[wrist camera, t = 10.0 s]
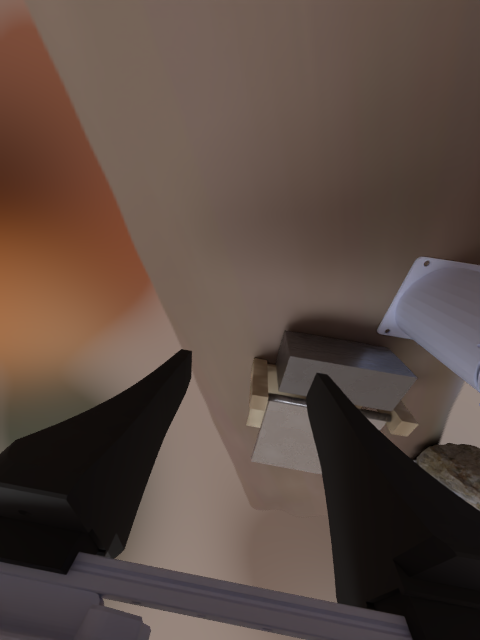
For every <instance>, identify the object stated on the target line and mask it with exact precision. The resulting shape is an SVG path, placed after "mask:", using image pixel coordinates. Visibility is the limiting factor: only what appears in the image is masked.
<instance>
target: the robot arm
mask: <svg viewBox="0 0 480 640" xmlns="http://www.w3.org/2000/svg"><path fill="white" fill-rule="evenodd" d="M428 260H429V264H428V265H427V266H424V263H425V262H426V261H428ZM387 329H390V330H389V332H387V333H385V330H387ZM377 332H378V333H379V334H382V335H388V336H394V337H400V338H406V339H412V340H414V341H415V342H417V343H418V344H419V345H420V346H422V347H423V348H424V349H425V350H427V351H428V352H429V353H431V354H432V355H433V356H434V357H436V358H437V359H438V360H439V361H441V362H442V363H443V364H444V365H446V366H447V367H448V368H449V369H451V370H452V371H453V372H454V373H456V374H457V375H458V376H459V377H461V378H462V379H463V380H464V381H466V382H467V383H468V384H470V385H471V386H472V387H473V388H474V389H476V390H477V391H478V392H479V393H480V265H475V264H468V263H462V262H456V261H449V260H443V259H436V258H430V257H424V256H423V257H419V258H417V259H416V260H415V261H414V263H413V265H412V267H411V269H410V270H409V272H408V274H407V276H406V278H405V280H404V281H403V283H402V285H401V287H400V289H399V290H398V292H397V294H396V296H395V298H394V299H393V301H392V303H391V305H390V307H389V309H388V310H387V312H386V314H385V316H384V318H383V319H382V321H381V323H380V325H379V327H378V328H377ZM191 365H192V351H188V350H183V349H181V350H180V351H179V352H177V353H176V354H175V355H174V356H172V357H171V358H170V359H169V360H167V361H166V362H165V363H164V364H162V365H161V366H160V367H158V368H157V369H156V370H155V371H153V372H152V373H150V374H149V375H148V376H146V377H145V378H143V379H142V380H140V381H139V382H138V383H136V384H135V385H133V386H131V387H130V388H128V389H127V390H125V391H123V392H122V393H120V394H118V395H116V396H115V397H113V398H111V399H109V400H107V401H105V402H103V403H101V404H99V405H97V406H96V407H94V408H92V409H90V410H88V411H85V412H83V413H81V414H79V415H77V416H74V417H72V418H70V419H68V420H66V421H63V422H61V423H58V424H56V425H54V426H51V427H48V428H46V429H43V430H41V431H38V432H36V433H33V434H30V435H28V436H25V437H23V438H20V439H17V440H15V441H14V442H13V443H12V444H11V445H10V446H9V447H7V448H6V449H5V450H4V451H3V452H2V453H1V454H0V640H148V639H149V635H150V632H151V629H150V626H148V625H146V624H144V623H143V621H142V617H140V616H137V615H133V614H130V613H126V612H123V611H120V610H116V609H113V608H109V607H105V606H104V601H103V599H102V598H104V599H109V600H114V601H120V602H124V603H129V604H134V605H139V606H144V607H149V608H154V609H159V610H163V611H168V612H174V613H178V614H183V615H188V616H193V617H198V618H203V619H208V620H213V621H218V622H223V623H228V624H233V625H237V626H243V627H247V628H252V629H257V630H262V631H267V632H272V633H277V634H282V635H287V636H291V637H297V638H301V639H306V640H480V511H479V510H478V509H476V508H475V507H473V506H472V505H470V504H469V503H468V502H466V501H465V500H463V499H462V498H461V497H459V496H458V495H457V494H455V493H454V492H453V491H451V490H450V489H449V488H447V487H446V486H445V485H443V484H442V483H441V482H439V481H438V480H437V479H435V478H434V477H433V476H431V475H430V474H429V473H428V472H426V471H425V470H424V469H423V468H421V467H420V466H419V465H418V464H417V463H415V462H414V461H413V460H412V459H411V458H409V457H408V456H407V455H406V454H405V453H403V452H402V451H401V450H400V449H399V448H398V447H397V446H395V445H394V444H393V443H392V442H391V441H390V440H389V439H388V438H387V437H386V436H384V435H383V434H382V433H381V432H380V431H379V430H378V429H377V428H376V427H375V426H374V425H373V424H372V423H371V422H370V421H369V420H368V419H367V418H366V417H365V416H364V415H363V414H362V413H361V411H360V410H359V409H358V408H357V407H356V406H355V405H354V404H353V403H352V402H351V401H350V399H349V398H348V397H347V396H346V395H345V394H344V393H343V391H342V390H341V389H340V388H339V387H338V386H337V385H336V383H335V382H334V381H333V380H332V379H331V378H330V377H329V376H328V375H327V374H322V373H316V375H315V377H314V380H313V382H312V384H311V386H310V389H309V391H308V393H307V396H306V404H307V412H308V417H309V421H310V425H311V429H312V433H313V437H314V441H315V445H316V449H317V453H318V457H319V461H320V466H321V471H322V477H323V483H324V489H325V496H326V503H327V510H328V517H329V526H330V535H331V543H332V553H333V563H334V574H335V586H336V598H337V602H338V603H334V602H329V601H324V600H319V599H314V598H309V597H304V596H299V595H294V594H288V593H284V592H279V591H274V590H268V589H263V588H258V587H253V586H248V585H243V584H238V583H233V582H228V581H223V580H218V579H213V578H208V577H203V576H198V575H192V574H187V573H183V572H177V571H172V570H167V569H163V568H157V567H152V566H147V565H142V564H137V563H132V562H127V561H122V560H117V559H114V558H116V557H117V556H118V555H119V554H120V553H121V552H122V551H123V550H124V549H125V546H126V543H127V540H128V537H129V534H130V531H131V528H132V525H133V522H134V519H135V516H136V513H137V510H138V507H139V504H140V502H141V499H142V496H143V493H144V490H145V487H146V484H147V482H148V479H149V476H150V474H151V470H152V468H153V465H154V463H155V459H156V457H157V455H158V452H159V450H160V447H161V444H162V442H163V439H164V437H165V435H166V433H167V430H168V428H169V426H170V424H171V422H172V420H173V418H174V416H175V414H176V412H177V410H178V408H179V406H180V404H181V402H182V400H183V398H184V395H185V394H186V391H187V388H188V385H189V382H190V379H191ZM479 406H480V404H479Z"/></svg>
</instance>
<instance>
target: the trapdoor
mask: <svg viewBox="0 0 480 640" xmlns="http://www.w3.org/2000/svg"><path fill="white" fill-rule="evenodd" d="M276 371H277V381H278V391H279V392H284V393H290V394H296V395H301V396H307V393H308V391H309V389H310V386H311V384H312V382H313V380H314V377H315V375H316V373H322V374H327V375H328V376H329V377H330V378H331V379H332V380H333V381H334V382H335V383H336V385H337V386H338V387H339V388H340V389H341V390H342V391H343V393H344V394H345V395H346V396H347V397H348V398H349V399H350V401H351V402H352V403H353V404H354V405H358V406H364V407H370V408H375V409H381V410H387V411H393V409H394V408H395V407H396V405H397V404H398V403H399V402H400V400H401V399H402V398H403V396H404V395H405V394H406V393H407V391H408V390H409V389H410V387H411V386H412V385H413V384H414V382H415V381H416V380H417V377H416V376H415V375H414V374H413V373H412V372H411V371H410V370H409V368H408V367H407V366H406V365H405V364H404V363H403V362H402V361H401V360H400V359H399V358H398V357H397V356H396V355H395V354H394V353H393V352H392V351H391V350H390V349H389V348H387V347H381V346H375V345H369V344H363V343H357V342H351V341H345V340H339V339H333V338H327V337H321V336H315V335H309V334H303V333H298V332H292V331H286V330H285V331H284V335H283V338H282V342H281V345H280V349H279V352H278V356H277V359H276ZM358 409H359V408H358ZM359 410H360V411H361V413H362V414H363V415H364V416H365V417H366V418H367V419H368V420H369V421H370V422H371V423H372V424H373V425H374V426H375V427H376V428H377V429H378V430H379V431H380V430H381V429H382V427H383V426H384V425H385V424H386V422H391V416H390V414H387V413H382V412H376V411H370V410H365V409H359ZM251 461H252V462H258V463H263V464H268V465H274V466H279V467H285V468H290V469H295V470H301V471H306V472H312V473H317V474H322V471H321V466H320V461H319V457H318V453H317V449H316V445H315V441H314V437H313V433H312V429H311V425H310V421H309V417H308V412H307V404H306V399H302V398H297V397H291V396H285V395H280V394H274V393H268V403H267V406H266V409H265V413H264V416H263V419H262V423H261V426H260V429H259V433H258V436H257V439H256V443H255V446H254V449H253V452H252V456H251Z"/></svg>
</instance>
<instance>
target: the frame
mask: <svg viewBox="0 0 480 640" xmlns="http://www.w3.org/2000/svg"><path fill="white" fill-rule="evenodd" d="M268 393H274V394H280V395H285V396H291V397H297V398H302V399H306V396H301V395H296V394H290V393H284V392H279V391H278V381H277V371H276V365H273V364H267V360H263V359H257V358H254V361H253V365H252V370H251V384H250V399H249V408H250V411H249V416H248V420H247V426H253V427H258V428H260V426H261V423H262V419H263V416H264V413H265V409H266V406H267V403H268ZM355 406H356V407H357V408H359V409H361V408H362V407H363V406H358V405H355ZM377 411H378V412H382V413H387V414H390V416H391V422H386V426H387V427H388V429H389V431H390V432H391V434H396V435H402V436H408V435H409V434H410V433H411V432H412V431H413V430H414V429H415V428H416V427H417V426H418V422H417V421H416V420H415V419H414V417H413V416H412V415H411V413H410V412H409V411H408V409H407V408H406V407H405V405H404V404H403V403H402V402H401V400H400V402H399V403H398V404H397V405H396V407H395V408H394V409H393V411H387V410H381V409H377Z"/></svg>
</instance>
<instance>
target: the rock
mask: <svg viewBox="0 0 480 640" xmlns="http://www.w3.org/2000/svg"><path fill="white" fill-rule="evenodd" d="M413 461H414V462H415V463H417V464H418V465H419V466H420V467H421V468H423V469H424V470H425V471H426V472H428V473H429V474H430V475H431V476H433V477H434V478H435V479H437V480H438V481H439V482H441V483H442V484H443V485H445V486H446V487H447V488H449V489H450V490H451V491H453V492H454V493H455V494H457V495H458V496H459V497H461V498H462V499H463V500H465V501H466V502H468V503H469V504H470V505H472V506H473V507H475V508H476V509H478V510H480V449H479V448H477V447H475V446H471V445H465V444H460V445H456V444H452V443H447V444H446V445H434V446H430V447H428V448H427V449H425V450H424V451H423V452H422V453H421V454H420V455H419V456H418V457H417V459H416V460H413Z"/></svg>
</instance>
